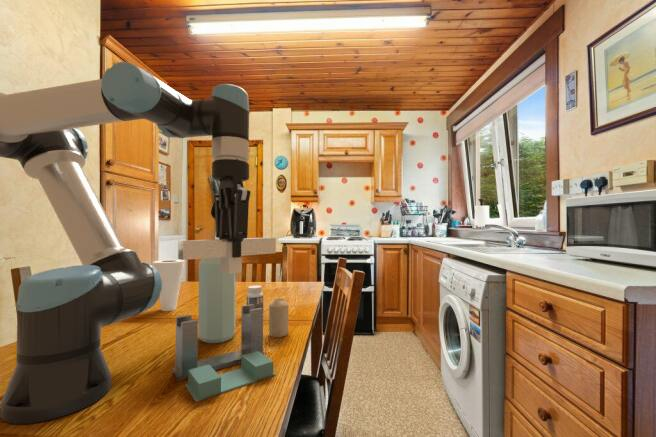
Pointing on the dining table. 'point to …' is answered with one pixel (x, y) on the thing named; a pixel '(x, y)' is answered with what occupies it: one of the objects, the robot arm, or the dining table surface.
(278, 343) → the dining table surface
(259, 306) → the pill bottle
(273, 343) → the dining table surface
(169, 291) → the cup
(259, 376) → the rest
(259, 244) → the rail
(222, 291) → the water bottle
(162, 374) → the dining table surface
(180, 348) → the stand
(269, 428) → the dining table surface
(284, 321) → the candle
